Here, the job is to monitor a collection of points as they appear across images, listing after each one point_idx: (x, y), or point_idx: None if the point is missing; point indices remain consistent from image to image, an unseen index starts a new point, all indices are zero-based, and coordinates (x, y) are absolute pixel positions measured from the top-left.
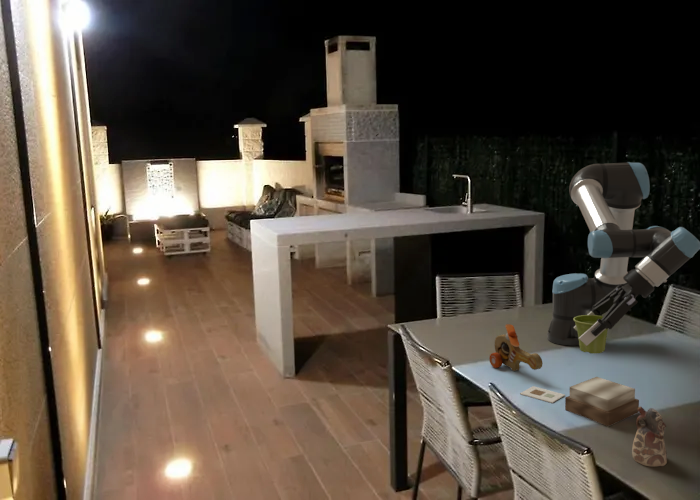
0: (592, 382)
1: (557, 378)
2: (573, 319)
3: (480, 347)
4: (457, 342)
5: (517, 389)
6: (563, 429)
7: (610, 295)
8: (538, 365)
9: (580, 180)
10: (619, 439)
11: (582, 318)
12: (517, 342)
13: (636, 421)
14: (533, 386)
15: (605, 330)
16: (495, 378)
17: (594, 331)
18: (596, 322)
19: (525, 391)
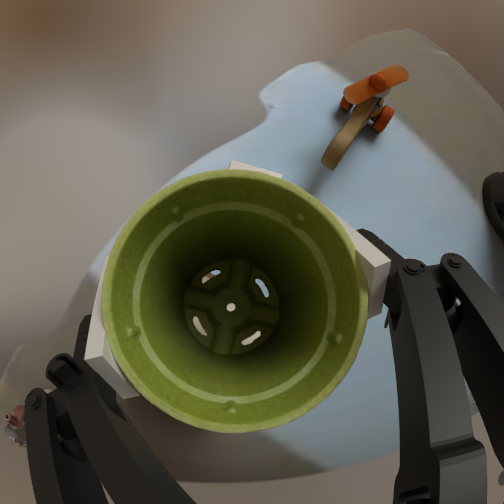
0: (230, 310)
1: (352, 212)
2: (203, 173)
3: (407, 86)
4: (402, 63)
5: (255, 151)
6: (94, 275)
7: (473, 454)
8: (323, 161)
9: None
10: None
11: (312, 221)
12: (362, 97)
13: (17, 406)
14: (280, 175)
15: (197, 386)
16: (293, 110)
17: (81, 333)
18: (96, 347)
19: (245, 167)
